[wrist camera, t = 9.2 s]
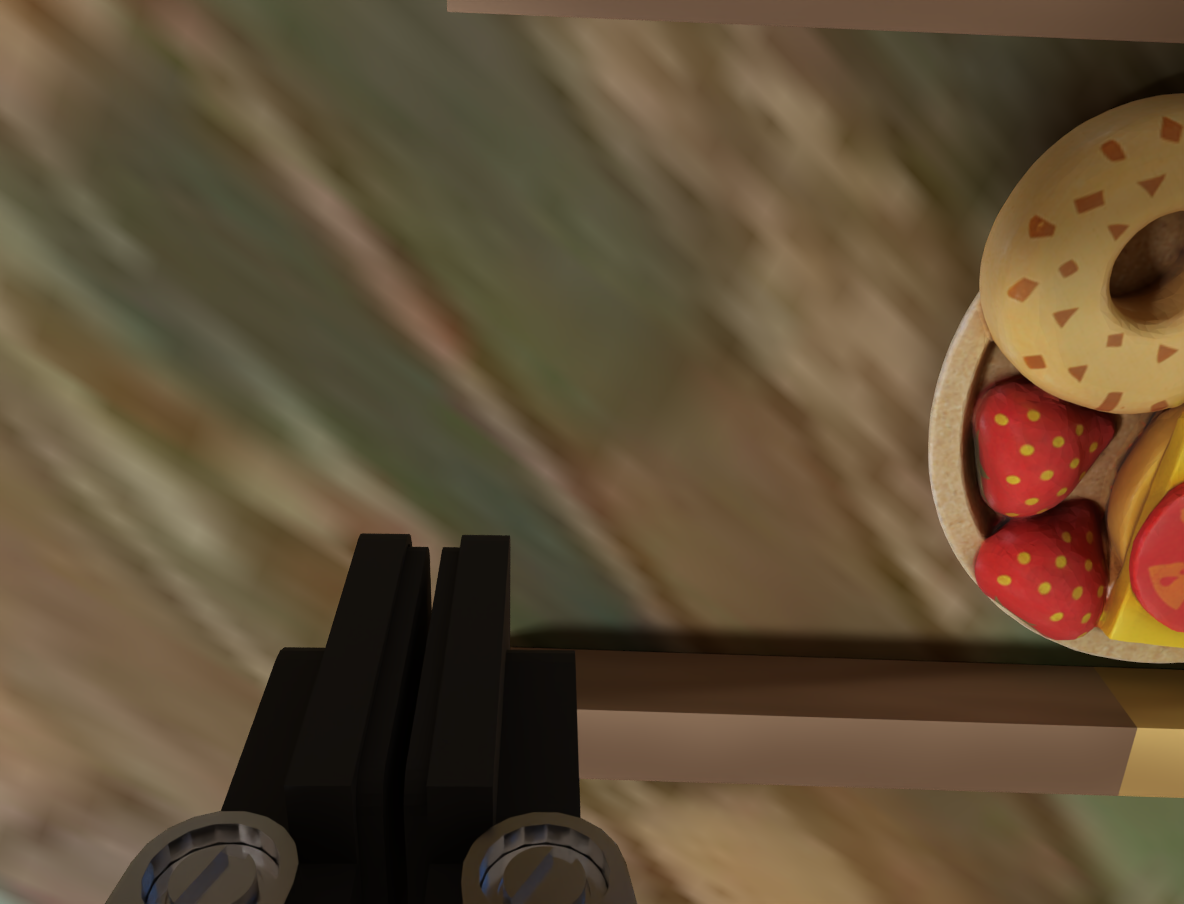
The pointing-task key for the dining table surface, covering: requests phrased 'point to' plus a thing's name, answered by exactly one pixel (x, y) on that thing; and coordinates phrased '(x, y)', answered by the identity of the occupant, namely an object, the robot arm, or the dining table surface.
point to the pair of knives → (867, 686)
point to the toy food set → (1077, 394)
